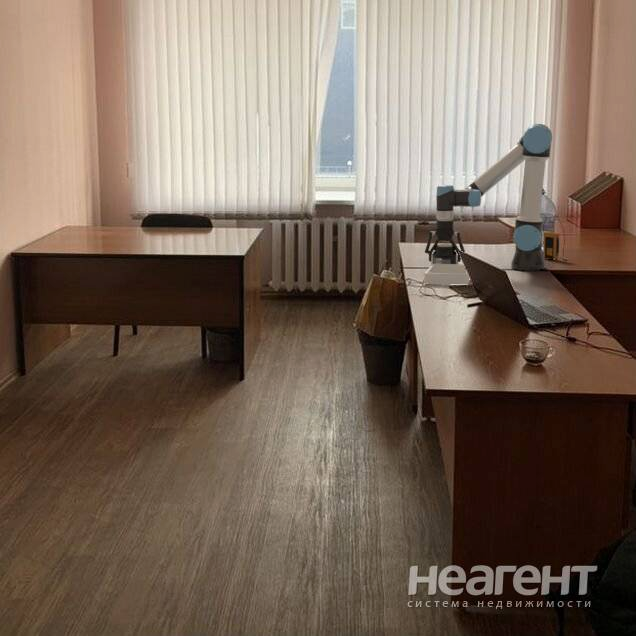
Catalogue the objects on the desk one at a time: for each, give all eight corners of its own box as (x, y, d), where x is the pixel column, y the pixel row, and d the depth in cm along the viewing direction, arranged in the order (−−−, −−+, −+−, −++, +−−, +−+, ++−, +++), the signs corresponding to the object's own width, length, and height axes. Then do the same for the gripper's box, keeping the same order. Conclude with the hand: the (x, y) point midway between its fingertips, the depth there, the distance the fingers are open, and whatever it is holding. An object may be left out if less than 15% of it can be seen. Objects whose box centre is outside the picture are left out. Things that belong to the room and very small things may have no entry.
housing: (433, 274, 449) (433, 263, 448) (473, 275, 444) (474, 264, 443) (424, 284, 426) (424, 273, 425) (467, 285, 421) (467, 274, 420)
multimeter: (574, 259, 480) (575, 217, 475) (561, 261, 474) (562, 219, 469) (549, 256, 491) (550, 215, 487) (536, 258, 485) (537, 217, 481)
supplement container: (455, 269, 460) (455, 243, 458) (457, 273, 450) (458, 247, 447) (432, 270, 460) (432, 244, 458) (434, 274, 450) (434, 247, 448)
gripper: (418, 220, 450) (418, 269, 454) (469, 221, 444) (469, 270, 448) (420, 218, 457) (420, 266, 461) (471, 219, 451) (471, 267, 455)
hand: (444, 268), depth 455 cm, fingers closed on supplement container, 10 cm apart
